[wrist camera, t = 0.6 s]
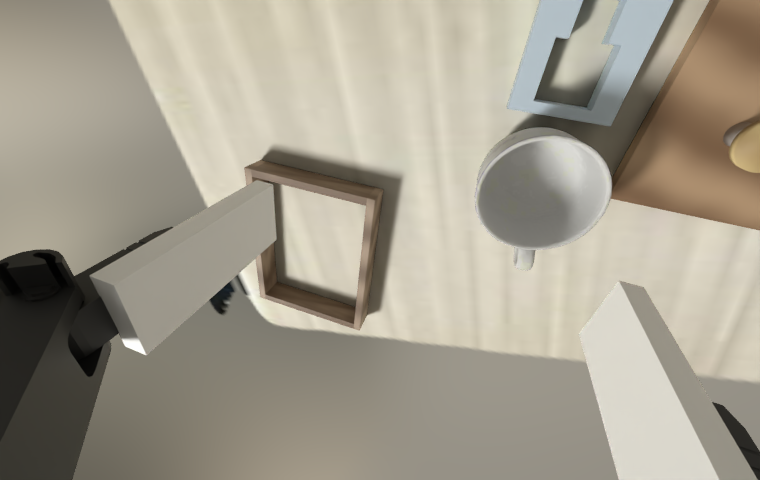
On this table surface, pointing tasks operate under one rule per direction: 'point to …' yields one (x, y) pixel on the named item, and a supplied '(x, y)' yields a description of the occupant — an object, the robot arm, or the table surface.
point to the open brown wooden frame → (372, 216)
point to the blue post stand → (631, 44)
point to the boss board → (704, 125)
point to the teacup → (541, 191)
